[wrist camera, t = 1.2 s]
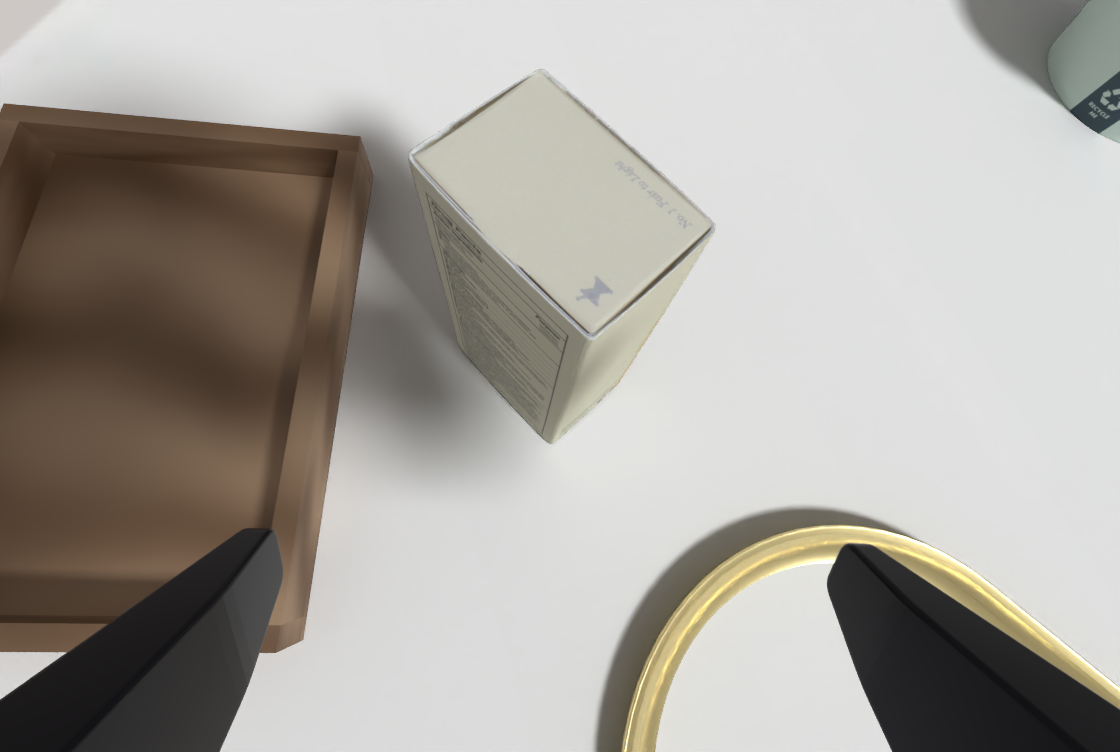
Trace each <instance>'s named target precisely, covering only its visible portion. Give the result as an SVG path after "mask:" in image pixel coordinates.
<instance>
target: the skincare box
mask: <svg viewBox="0 0 1120 752" xmlns="http://www.w3.org/2000/svg"><path fill="white" fill-rule="evenodd" d="M409 163H410V167H411V171H412V174H413V178H414V181H415V185H416V189H417V192H418V196H419V200H420V204H421V208H422V211H423V215H424V218H425V222H426V225H427V229H428V233H429V236H430V240H431V244H432V248H433V251H434V255H435V259H436V262H437V266H438V270H439V273H440V277H441V281H442V284H443V288H444V292H445V295H446V299H447V303H448V307H449V310H450V314H451V317H452V321H453V325H454V328H455V332H456V336H457V340H458V344H459V346H460V348H461V349H462V350H463V352H464V353H465V354H466V355H467V356H468V357H469V358H470V360H471V361H472V362H473V363H474V364H475V365H476V366H477V368H478V369H479V370H480V371H481V372H482V373H483V374H484V375H485V376H486V378H487V379H488V380H489V381H490V382H491V383H492V384H493V385H494V386H495V388H496V389H497V390H498V391H499V392H500V393H501V394H502V395H503V396H504V397H505V398H506V399H507V401H508V402H509V403H510V404H511V405H512V406H513V407H514V408H515V409H516V410H517V411H518V412H519V414H520V415H521V416H522V417H523V418H524V419H525V420H526V421H527V422H528V423H529V424H530V425H531V426H532V427H533V428H534V429H535V430H536V431H537V432H538V433H539V434H540V435H541V436H542V438H543V439H544V440H545V441H546V442H547V443H549V444H553V443H554V442H556V441H557V440H558V439H559V438H560V437H561V436H562V435H564V434H565V433H566V432H567V431H568V430H569V429H570V428H572V427H573V426H574V425H575V424H576V423H577V422H578V421H579V420H581V419H582V418H583V417H584V416H585V415H586V414H587V413H588V412H589V411H590V410H592V409H593V408H594V407H595V406H596V405H597V404H598V403H599V402H600V401H601V400H602V399H603V398H604V397H605V396H606V395H607V394H608V393H609V392H610V391H611V390H612V389H613V388H614V387H615V386H616V385H617V384H618V383H619V382H620V380H621V379H622V377H623V375H624V374H625V372H626V371H627V369H628V368H629V366H630V365H631V363H632V362H633V360H634V359H635V357H636V355H637V354H638V352H639V351H640V349H641V348H642V346H643V345H644V343H645V342H646V340H647V339H648V337H649V335H650V334H651V333H652V331H653V329H654V328H655V326H656V325H657V323H658V322H659V320H660V318H661V317H662V315H663V314H664V312H665V311H666V309H667V307H668V306H669V304H670V303H671V301H672V299H673V298H674V296H675V295H676V293H677V292H678V290H679V288H680V287H681V285H682V284H683V282H684V280H685V279H686V277H687V276H688V274H689V273H690V271H691V269H692V268H693V266H694V264H695V263H696V261H697V260H698V258H699V256H700V255H701V253H702V251H703V250H704V248H705V247H706V245H707V243H708V242H709V240H710V238H711V237H712V235H713V234H714V232H715V223H714V222H713V221H712V220H711V219H710V218H709V217H708V216H707V215H706V214H705V213H704V212H703V211H702V210H701V209H700V208H699V207H698V206H697V205H696V204H695V203H693V202H692V201H691V200H690V199H689V198H688V197H687V196H686V195H685V194H684V193H683V192H682V191H681V190H680V189H679V188H678V187H677V186H675V185H674V184H673V183H672V182H671V181H670V180H669V179H668V178H667V177H666V176H665V175H664V174H663V173H662V172H660V171H659V170H658V169H657V168H656V167H654V166H653V165H652V163H650V162H649V161H648V160H647V159H646V158H645V157H644V156H643V155H641V154H640V153H639V152H638V151H637V150H636V149H635V148H634V147H633V146H631V145H630V144H629V143H628V142H627V141H625V140H624V139H623V138H622V137H621V136H620V135H619V134H618V133H617V132H616V131H615V130H613V129H612V128H611V127H610V126H609V125H607V123H605V122H604V121H603V120H602V119H601V118H600V117H599V116H598V115H596V114H595V113H594V112H593V111H592V110H591V109H590V108H589V107H587V106H586V105H585V104H583V103H582V102H581V101H580V100H579V99H578V98H577V97H576V96H575V95H574V94H572V93H571V92H570V91H569V90H568V89H567V88H566V87H564V86H563V85H562V84H561V83H560V82H558V81H557V80H556V79H555V78H554V77H553V76H551V75H550V74H549V73H548V72H547V71H545V70H543V69H539V70H536V71H534V72H533V73H531V74H530V75H528V76H526V77H524V78H523V79H521V80H520V81H518V82H517V83H515V84H513V85H512V86H510V87H509V88H507V89H505V90H503V91H502V92H500V93H499V94H497V95H496V96H494V97H492V98H491V99H489V100H487V101H486V102H484V103H483V104H481V105H479V106H478V107H476V108H475V109H473V110H472V111H470V112H468V113H467V114H465V115H464V116H462V117H460V118H459V119H457V120H456V121H454V122H453V123H451V124H450V125H448V126H447V127H445V128H444V129H442V130H441V131H439V132H438V133H436V134H434V135H433V136H431V137H430V138H428V139H426V140H425V141H423V142H422V143H420V144H419V145H417V146H416V147H414V148H413V149H412V150H411V151H410V152H409Z"/></svg>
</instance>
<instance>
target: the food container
mask: <svg viewBox="0 0 1120 752" xmlns="http://www.w3.org/2000/svg"><path fill="white" fill-rule="evenodd" d="M1047 68H1048V74H1049V77H1050V80H1051V83H1052V85H1053V87H1054V89H1055V91H1056V93H1057V95H1058V96H1059V98H1060V99H1061V101H1062V102H1063V103H1064V105H1065V106H1066V107H1067V108H1068V109H1069V110H1070V112H1071V113H1072V114H1073V115H1074V116H1076V117H1077V118H1078V119H1079V120H1080V121H1081V122H1082V123H1084V124H1085V125H1086V126H1088V127H1089V128H1090V129H1092V130H1093V131H1095V132H1097V133H1098V134H1100V135H1102V136H1104V137H1106V138H1108V139H1110V140H1112V141H1115V142H1117V143H1120V0H1089V1H1088V3H1087V4H1086V5H1085V6H1084V7H1083V9H1082V10H1081V11H1080V12H1079V13H1078V14H1077V16H1076V17H1075V18H1074V19H1073V20H1072V21H1071V23H1070V24H1069V25H1068V26H1067V27H1066V29H1065V30H1064V31H1063V32H1062V33H1061V34H1060V36H1059V37H1058V38H1057V39H1056V40H1055V42H1054V43H1053V44H1052V46H1051V48H1050V50H1049V53H1048V58H1047Z"/></svg>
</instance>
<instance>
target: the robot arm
mask: <svg viewBox="0 0 1120 752" xmlns="http://www.w3.org/2000/svg"><path fill="white" fill-rule="evenodd" d="M282 580H283V563H282V558H281V553H280V548H279V543H278V538H277V534H276V532H275V531H274V530H273V529H270V528H245V529H243V530H241V531H239V532H238V533H236V534H235V535H233V536H232V537H230V538H229V539H228V540H226V541H225V542H223V543H222V544H221V545H219V546H218V547H216V548H215V549H213V550H212V551H211V552H209V553H208V554H206V555H205V556H204V557H202V558H201V559H199V560H198V561H196V562H195V563H194V564H192V565H191V566H189V567H188V568H186V569H185V570H184V571H182V572H181V573H179V574H178V575H177V576H175V577H174V578H172V579H171V580H169V581H168V582H167V583H165V584H164V585H162V586H161V587H160V588H158V589H157V590H155V591H154V592H152V593H151V594H150V595H148V596H147V597H145V598H144V599H142V600H141V601H140V602H138V603H137V604H135V605H134V606H133V607H131V608H130V609H128V610H127V611H125V612H124V613H123V614H121V615H120V616H118V617H117V618H115V619H114V620H113V621H111V622H110V623H108V624H107V625H106V626H104V627H103V628H101V629H100V630H98V631H97V632H96V633H94V634H93V635H91V636H90V637H89V638H87V639H86V640H84V641H83V642H81V643H80V644H79V645H77V646H76V647H74V648H73V649H71V650H70V651H69V652H67V653H66V654H64V655H63V656H62V657H60V658H59V659H57V660H56V661H54V662H53V663H52V664H50V665H49V666H47V667H46V668H44V669H43V670H42V671H40V672H39V673H37V674H36V675H35V676H33V677H32V678H30V679H29V680H27V681H26V682H25V683H23V684H22V685H20V686H19V687H18V688H16V689H15V690H13V691H12V692H10V693H9V694H8V695H6V696H5V697H3V698H2V699H0V752H220V749H221V747H222V745H223V743H224V740H225V738H226V736H227V734H228V731H229V729H230V727H231V725H232V722H233V720H234V718H235V716H236V713H237V711H238V709H239V707H240V704H241V702H242V700H243V697H244V695H245V692H246V690H247V687H248V685H249V682H250V679H251V676H252V673H253V671H254V668H255V665H256V662H257V658H258V655H259V652H260V649H261V646H262V643H263V640H264V637H265V634H266V631H267V628H268V625H269V622H270V618H271V615H272V612H273V609H274V606H275V603H276V600H277V597H278V594H279V591H280V588H281V584H282ZM827 589H828V593H829V596H830V599H831V602H832V605H833V608H834V610H835V613H836V616H837V619H838V622H839V624H840V627H841V630H842V633H843V635H844V638H845V641H846V644H847V647H848V649H849V652H850V655H851V658H852V661H853V663H854V666H855V669H856V672H857V674H858V677H859V679H860V682H861V684H862V687H863V689H864V691H865V694H866V696H867V698H868V701H869V703H870V705H871V707H872V709H873V711H874V713H875V716H876V718H877V720H878V722H879V724H880V726H881V729H882V731H883V733H884V735H885V737H886V739H887V741H888V744H889V746H890V748H891V750H892V752H1120V709H1119V708H1117V707H1116V706H1114V705H1113V704H1111V703H1110V702H1108V701H1107V700H1105V699H1104V698H1102V697H1101V696H1099V695H1098V694H1096V693H1095V692H1093V691H1092V690H1090V689H1089V688H1087V687H1086V686H1084V685H1083V684H1081V683H1080V682H1078V681H1077V680H1075V679H1074V678H1072V677H1071V676H1069V675H1068V674H1066V673H1065V672H1063V671H1062V670H1060V669H1059V668H1057V667H1056V666H1054V665H1053V664H1051V663H1050V662H1048V661H1047V660H1045V659H1044V658H1042V657H1041V656H1039V655H1038V654H1036V653H1035V652H1033V651H1032V650H1030V649H1029V648H1027V647H1026V646H1024V645H1023V644H1021V643H1020V642H1018V641H1017V640H1015V639H1014V638H1012V637H1011V636H1009V635H1008V634H1006V633H1004V632H1003V631H1001V630H1000V629H998V628H997V627H995V626H994V625H992V624H991V623H989V622H988V621H986V620H985V619H983V618H982V617H980V616H979V615H977V614H976V613H974V612H973V611H971V610H970V609H968V608H967V607H965V606H964V605H962V604H961V603H959V602H958V601H956V600H955V599H953V598H952V597H950V596H949V595H947V594H946V593H944V592H943V591H941V590H940V589H938V588H937V587H935V586H934V585H932V584H931V583H929V582H928V581H926V580H925V579H923V578H922V577H920V576H919V575H917V574H916V573H914V572H913V571H911V570H910V569H908V568H907V567H905V566H904V565H902V564H901V563H899V562H898V561H896V560H895V559H893V558H892V557H890V556H889V555H887V554H886V553H884V552H883V551H881V550H880V549H878V548H877V547H875V546H873V545H871V544H867V543H846V544H844V545H843V546H842V547H841V549H840V551H839V553H838V555H837V557H836V560H835V562H834V564H833V566H832V569H831V571H830V573H829V575H828V579H827Z"/></svg>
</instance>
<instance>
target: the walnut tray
mask: <svg viewBox="0 0 1120 752" xmlns="http://www.w3.org/2000/svg"><path fill="white" fill-rule="evenodd" d="M372 178H373V173H372V170H371V167H370V164H369V161H368V158H367V155H366V152H365V149H364V146H363V143H362V140H361V137H360V136H349V135H338V134H328V133H317V132H306V131H295V130H284V129H274V128H263V127H252V126H241V125H230V124H219V123H209V122H198V121H187V120H176V119H165V118H155V117H144V116H133V115H122V114H111V113H101V112H90V111H79V110H68V109H57V108H47V107H36V106H25V105H14V104H3V107H2V109H1V112H0V652H69V651H70V650H71V649H73V648H74V647H76V646H77V645H79V644H80V643H81V642H83V641H84V640H86V639H87V638H89V637H90V636H91V635H93V634H94V633H96V632H97V631H98V630H100V629H101V628H103V627H104V626H106V625H107V624H108V623H110V622H111V621H113V620H114V619H115V618H117V617H118V616H120V615H121V614H123V613H124V612H125V611H127V610H128V609H130V608H131V607H133V606H134V605H135V604H137V603H138V602H140V601H141V600H142V599H144V598H145V597H147V596H148V595H150V594H151V593H152V592H154V591H155V590H157V589H158V588H160V587H161V586H162V585H164V584H165V583H167V582H168V581H169V580H171V579H172V578H174V577H175V576H177V575H178V574H179V573H181V572H182V571H184V570H185V569H186V568H188V567H189V566H191V565H192V564H194V563H195V562H196V561H198V560H199V559H201V558H202V557H204V556H205V555H206V554H208V553H209V552H211V551H212V550H213V549H215V548H216V547H218V546H219V545H221V544H222V543H223V542H225V541H226V540H228V539H229V538H230V537H232V536H233V535H235V534H236V533H238V532H239V531H241V530H243V529H245V528H270V529H273V530H274V531H275V532H276V534H277V538H278V543H279V548H280V553H281V558H282V563H283V580H282V584H281V588H280V591H279V594H278V597H277V600H276V603H275V606H274V609H273V612H272V615H271V618H270V622H269V625H268V628H267V631H266V634H265V637H264V640H263V643H262V646H261V649H260V652H259V653H277V652H279V651H281V650H283V649H285V648H287V647H289V646H291V645H293V644H295V643H298V642H300V641H302V640H303V637H304V631H305V624H306V617H307V611H308V604H309V597H310V591H311V584H312V577H313V571H314V564H315V557H316V551H317V544H318V537H319V531H320V524H321V518H322V511H323V504H324V498H325V491H326V484H327V478H328V471H329V464H330V458H331V451H332V444H333V438H334V431H335V424H336V418H337V411H338V405H339V398H340V391H341V385H342V378H343V371H344V365H345V358H346V351H347V345H348V338H349V331H350V325H351V318H352V311H353V305H354V298H355V292H356V285H357V278H358V272H359V265H360V258H361V252H362V245H363V238H364V232H365V225H366V218H367V212H368V205H369V198H370V192H371V185H372Z"/></svg>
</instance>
